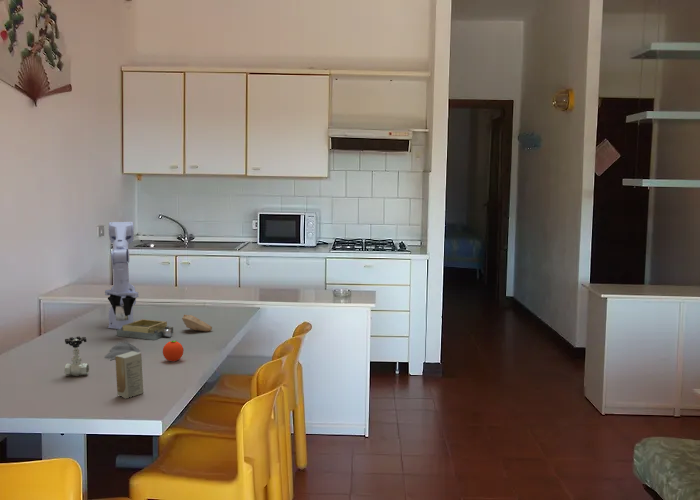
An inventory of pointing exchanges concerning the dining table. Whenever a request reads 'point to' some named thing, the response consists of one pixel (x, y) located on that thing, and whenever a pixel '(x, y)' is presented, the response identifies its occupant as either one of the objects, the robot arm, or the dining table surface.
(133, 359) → the skincare box
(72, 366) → the valve
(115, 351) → the cloth
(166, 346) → the clementine
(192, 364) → the dining table surface
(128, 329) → the metal tray
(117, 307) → the tin can
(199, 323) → the pottery oil lamp
